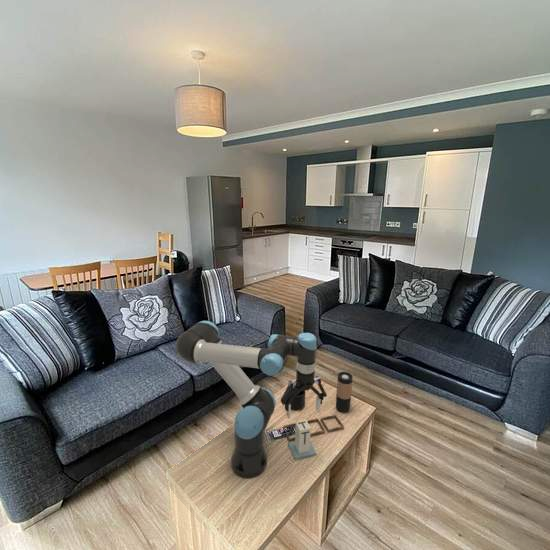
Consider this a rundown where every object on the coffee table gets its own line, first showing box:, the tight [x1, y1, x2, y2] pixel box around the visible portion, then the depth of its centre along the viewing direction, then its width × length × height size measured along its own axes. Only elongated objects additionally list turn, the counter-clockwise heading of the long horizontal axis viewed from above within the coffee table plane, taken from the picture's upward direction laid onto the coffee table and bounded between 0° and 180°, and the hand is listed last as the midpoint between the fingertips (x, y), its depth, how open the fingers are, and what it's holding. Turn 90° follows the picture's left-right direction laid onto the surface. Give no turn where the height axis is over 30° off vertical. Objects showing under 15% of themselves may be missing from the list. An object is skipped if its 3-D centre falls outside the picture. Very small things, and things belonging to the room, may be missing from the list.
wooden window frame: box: [306, 418, 326, 438], centre depth 142 cm, size 8×8×2 cm
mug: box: [290, 385, 306, 412], centre depth 158 cm, size 9×12×9 cm
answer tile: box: [287, 440, 317, 461], centre depth 130 cm, size 10×9×1 cm
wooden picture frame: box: [282, 422, 296, 442], centre depth 139 cm, size 8×8×2 cm
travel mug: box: [335, 371, 353, 414], centre depth 154 cm, size 8×8×20 cm
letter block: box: [294, 419, 312, 453], centre depth 128 cm, size 5×5×12 cm
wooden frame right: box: [319, 414, 345, 434], centre depth 145 cm, size 8×8×2 cm
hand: (303, 413), depth 125 cm, fingers open, 13 cm apart
